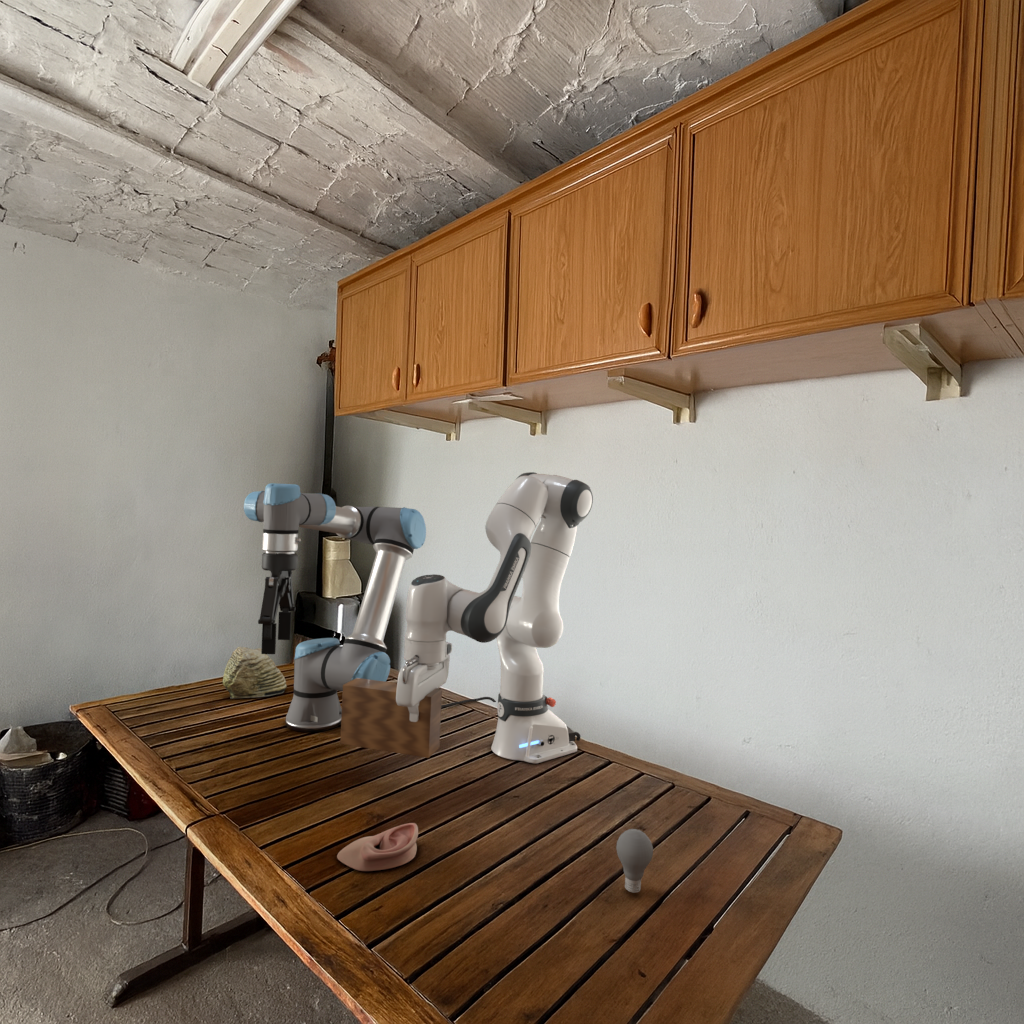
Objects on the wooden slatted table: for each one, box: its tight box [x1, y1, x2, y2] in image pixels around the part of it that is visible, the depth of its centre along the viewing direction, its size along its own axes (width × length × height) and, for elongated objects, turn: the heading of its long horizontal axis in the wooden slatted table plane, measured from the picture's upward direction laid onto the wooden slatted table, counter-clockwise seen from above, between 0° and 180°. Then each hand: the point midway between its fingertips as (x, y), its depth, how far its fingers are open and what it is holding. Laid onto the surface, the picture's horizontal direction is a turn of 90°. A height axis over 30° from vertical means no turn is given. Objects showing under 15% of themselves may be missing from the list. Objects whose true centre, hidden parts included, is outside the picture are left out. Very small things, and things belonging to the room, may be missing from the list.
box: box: [339, 678, 443, 759], centre depth 138 cm, size 21×6×13 cm, turn 75°
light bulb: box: [615, 828, 654, 894], centre depth 106 cm, size 6×6×10 cm
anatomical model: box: [336, 822, 419, 872], centre depth 113 cm, size 13×4×12 cm
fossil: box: [222, 646, 288, 699], centre depth 198 cm, size 9×18×15 cm, turn 132°
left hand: (276, 646), depth 142 cm, fingers open, 13 cm apart
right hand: (421, 715), depth 136 cm, fingers closed on box, 6 cm apart
